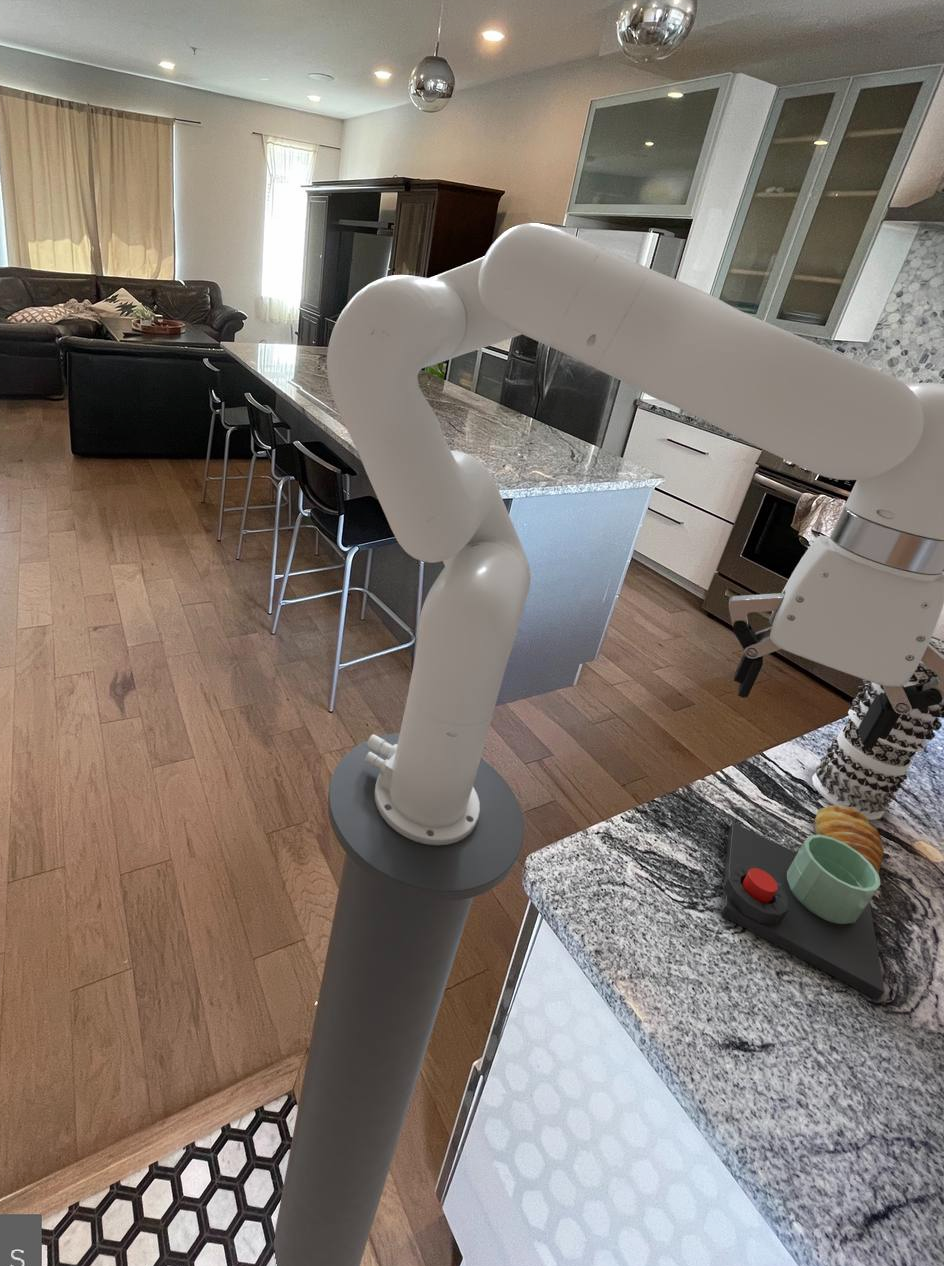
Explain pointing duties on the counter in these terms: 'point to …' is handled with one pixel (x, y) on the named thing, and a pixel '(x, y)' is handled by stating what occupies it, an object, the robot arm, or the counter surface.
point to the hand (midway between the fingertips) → (801, 713)
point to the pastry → (851, 831)
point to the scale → (797, 916)
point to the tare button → (760, 885)
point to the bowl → (832, 879)
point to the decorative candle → (876, 751)
